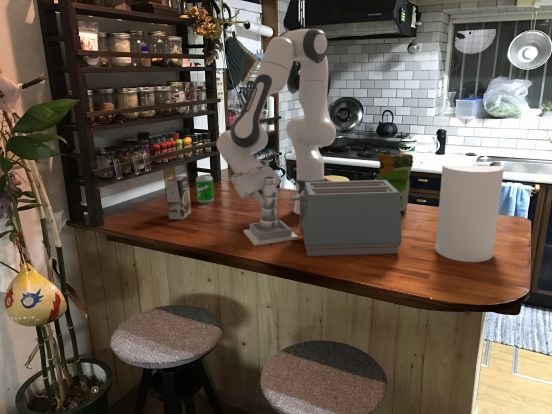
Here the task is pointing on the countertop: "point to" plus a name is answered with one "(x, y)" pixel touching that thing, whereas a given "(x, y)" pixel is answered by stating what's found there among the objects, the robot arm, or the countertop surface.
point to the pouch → (396, 174)
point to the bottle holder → (269, 234)
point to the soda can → (204, 189)
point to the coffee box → (178, 197)
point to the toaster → (350, 218)
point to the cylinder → (468, 212)
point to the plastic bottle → (269, 205)
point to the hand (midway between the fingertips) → (270, 200)
